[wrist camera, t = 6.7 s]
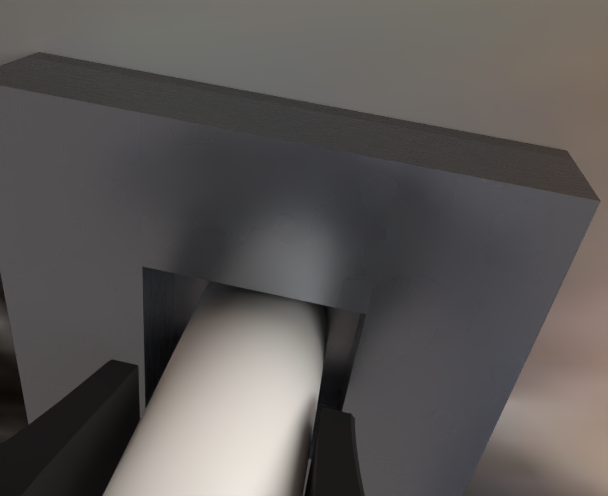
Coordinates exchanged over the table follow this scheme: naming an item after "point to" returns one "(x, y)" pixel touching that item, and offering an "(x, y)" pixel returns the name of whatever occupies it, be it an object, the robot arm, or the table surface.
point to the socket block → (282, 248)
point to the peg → (232, 401)
